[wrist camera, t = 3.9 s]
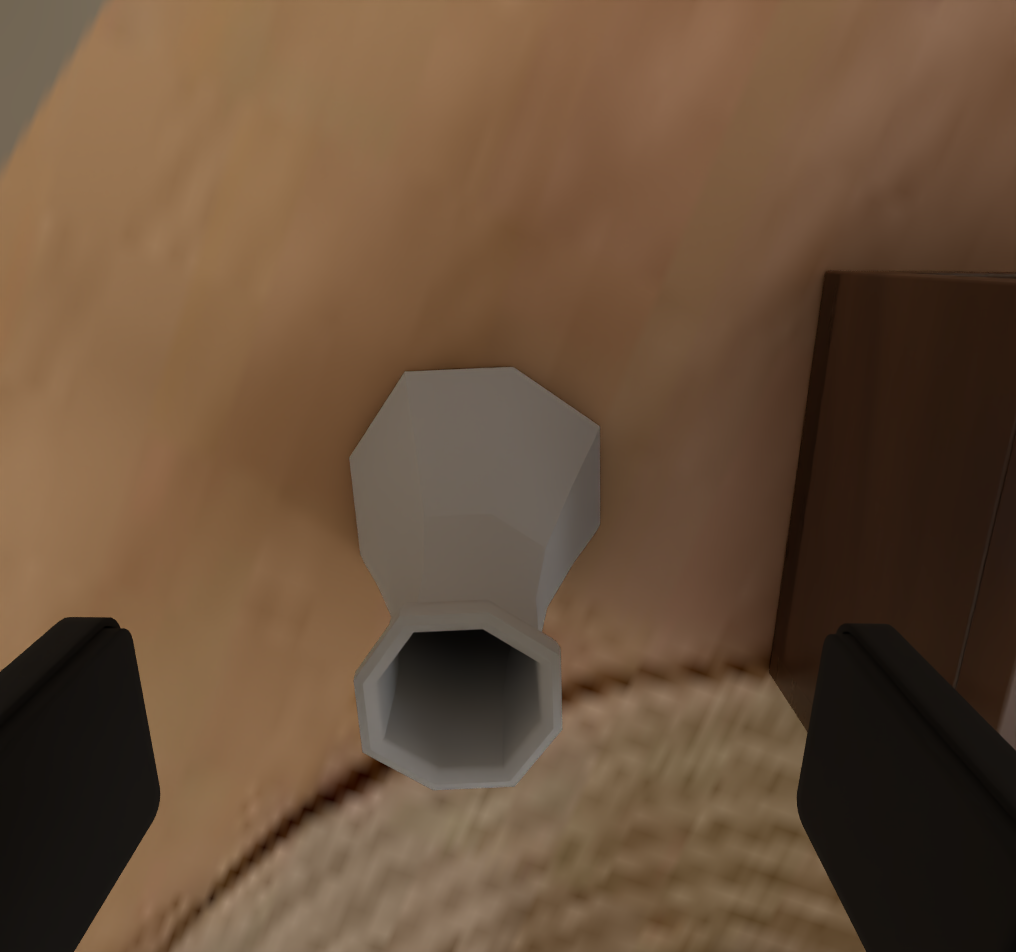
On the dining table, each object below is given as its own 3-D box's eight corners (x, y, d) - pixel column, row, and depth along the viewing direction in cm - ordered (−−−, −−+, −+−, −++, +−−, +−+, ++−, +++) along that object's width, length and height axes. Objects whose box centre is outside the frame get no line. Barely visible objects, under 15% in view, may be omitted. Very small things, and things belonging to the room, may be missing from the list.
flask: (561, 628, 21) (613, 933, 12) (325, 569, 21) (177, 843, 11) (640, 401, 19) (781, 550, 10) (380, 327, 19) (258, 409, 9)
